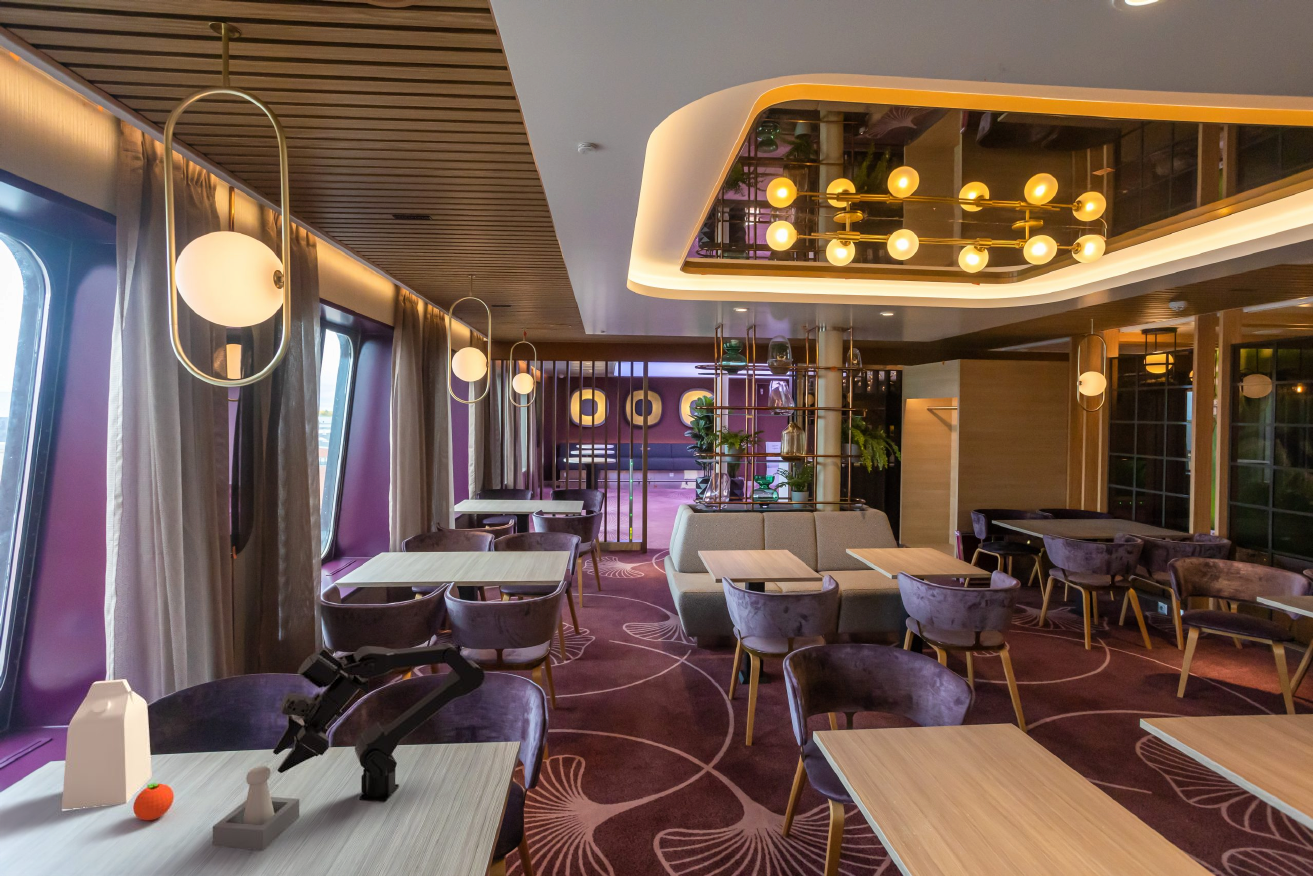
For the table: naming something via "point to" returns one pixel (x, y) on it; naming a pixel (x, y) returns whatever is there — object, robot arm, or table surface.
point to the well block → (255, 826)
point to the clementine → (153, 801)
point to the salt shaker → (258, 797)
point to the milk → (107, 747)
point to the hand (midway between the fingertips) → (276, 762)
